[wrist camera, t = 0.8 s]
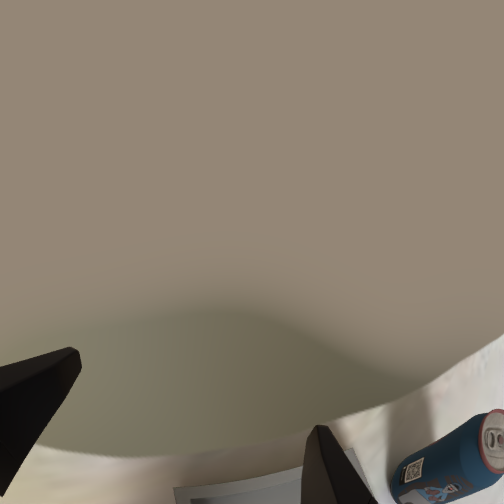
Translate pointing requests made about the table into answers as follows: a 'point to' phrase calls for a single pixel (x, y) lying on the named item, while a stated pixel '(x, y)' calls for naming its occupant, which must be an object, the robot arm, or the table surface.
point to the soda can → (454, 463)
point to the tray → (256, 488)
